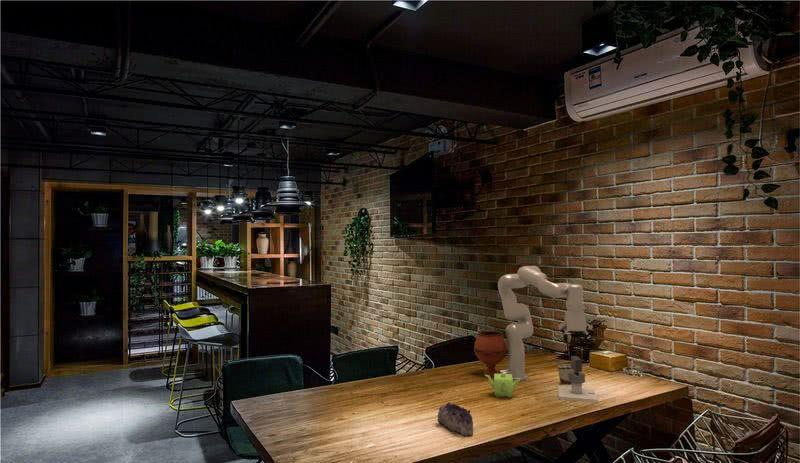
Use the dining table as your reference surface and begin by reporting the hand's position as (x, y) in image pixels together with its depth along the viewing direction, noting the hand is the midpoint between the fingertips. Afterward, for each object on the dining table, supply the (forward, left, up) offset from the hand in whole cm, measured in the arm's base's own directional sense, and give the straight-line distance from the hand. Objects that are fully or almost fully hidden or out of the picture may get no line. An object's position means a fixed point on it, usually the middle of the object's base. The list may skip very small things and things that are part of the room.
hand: (575, 342), depth 237 cm
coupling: (0, 0, -20) cm, 20 cm away
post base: (0, 0, -27) cm, 27 cm away
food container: (+2, +21, -27) cm, 34 cm away
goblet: (-38, +38, -27) cm, 60 cm away
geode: (-64, -44, -28) cm, 82 cm away
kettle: (-38, -1, -27) cm, 47 cm away
